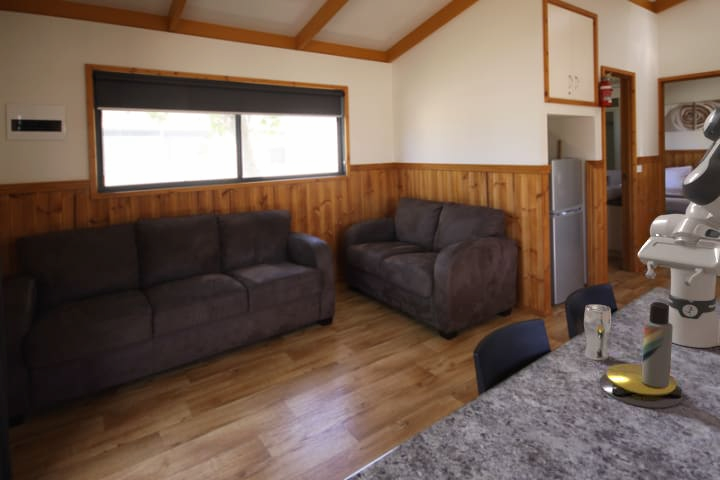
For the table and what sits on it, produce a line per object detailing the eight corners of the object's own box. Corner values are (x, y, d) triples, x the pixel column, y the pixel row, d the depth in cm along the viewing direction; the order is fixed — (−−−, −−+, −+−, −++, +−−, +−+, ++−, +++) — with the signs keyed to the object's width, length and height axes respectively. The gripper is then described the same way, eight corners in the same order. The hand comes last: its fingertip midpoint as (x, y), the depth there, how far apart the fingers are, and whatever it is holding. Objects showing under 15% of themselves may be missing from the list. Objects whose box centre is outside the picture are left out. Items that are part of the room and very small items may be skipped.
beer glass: (612, 361, 133) (615, 312, 130) (586, 361, 134) (588, 311, 131) (605, 351, 139) (607, 304, 137) (580, 350, 141) (581, 303, 138)
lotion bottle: (663, 379, 115) (668, 300, 113) (673, 389, 110) (678, 307, 107) (638, 377, 116) (642, 300, 114) (646, 387, 111) (651, 306, 108)
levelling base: (607, 367, 130) (607, 355, 129) (685, 383, 119) (686, 371, 118) (592, 395, 116) (593, 382, 115) (679, 416, 105) (680, 403, 104)
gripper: (647, 226, 127) (623, 267, 124) (733, 234, 109) (707, 281, 106) (657, 240, 130) (633, 280, 127) (742, 250, 111) (717, 296, 109)
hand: (667, 281), depth 116 cm, fingers open, 8 cm apart
